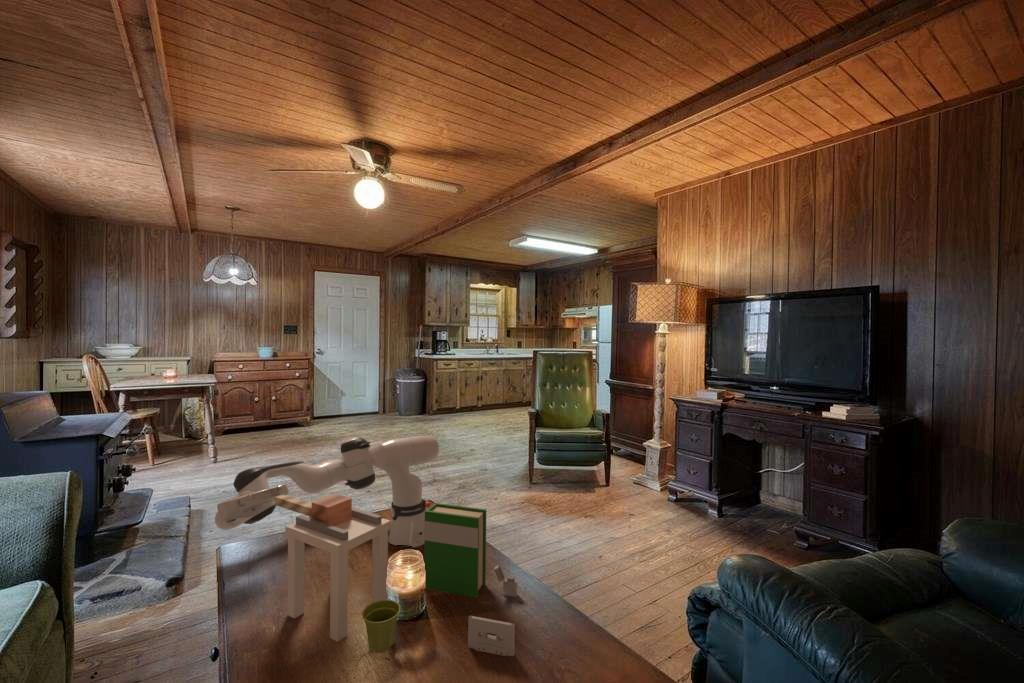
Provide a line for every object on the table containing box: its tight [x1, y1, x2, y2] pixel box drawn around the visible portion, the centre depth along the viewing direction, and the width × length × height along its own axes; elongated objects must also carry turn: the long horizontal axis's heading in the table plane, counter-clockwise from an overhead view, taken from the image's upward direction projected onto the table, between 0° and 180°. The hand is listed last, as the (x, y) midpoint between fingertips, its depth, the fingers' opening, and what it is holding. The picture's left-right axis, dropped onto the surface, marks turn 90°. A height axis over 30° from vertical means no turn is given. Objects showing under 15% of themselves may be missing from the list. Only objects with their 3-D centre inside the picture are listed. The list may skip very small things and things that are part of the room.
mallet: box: [275, 493, 353, 526], centre depth 132 cm, size 29×8×6 cm, turn 60°
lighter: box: [493, 565, 518, 598], centre depth 135 cm, size 7×2×8 cm, turn 73°
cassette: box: [467, 615, 516, 657], centre depth 110 cm, size 12×2×8 cm, turn 75°
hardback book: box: [423, 502, 487, 599], centre depth 139 cm, size 18×7×24 cm, turn 74°
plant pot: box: [361, 599, 402, 653], centre depth 112 cm, size 9×9×9 cm
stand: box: [284, 506, 392, 642], centre depth 125 cm, size 22×18×27 cm
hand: (267, 491), depth 143 cm, fingers open, 8 cm apart
